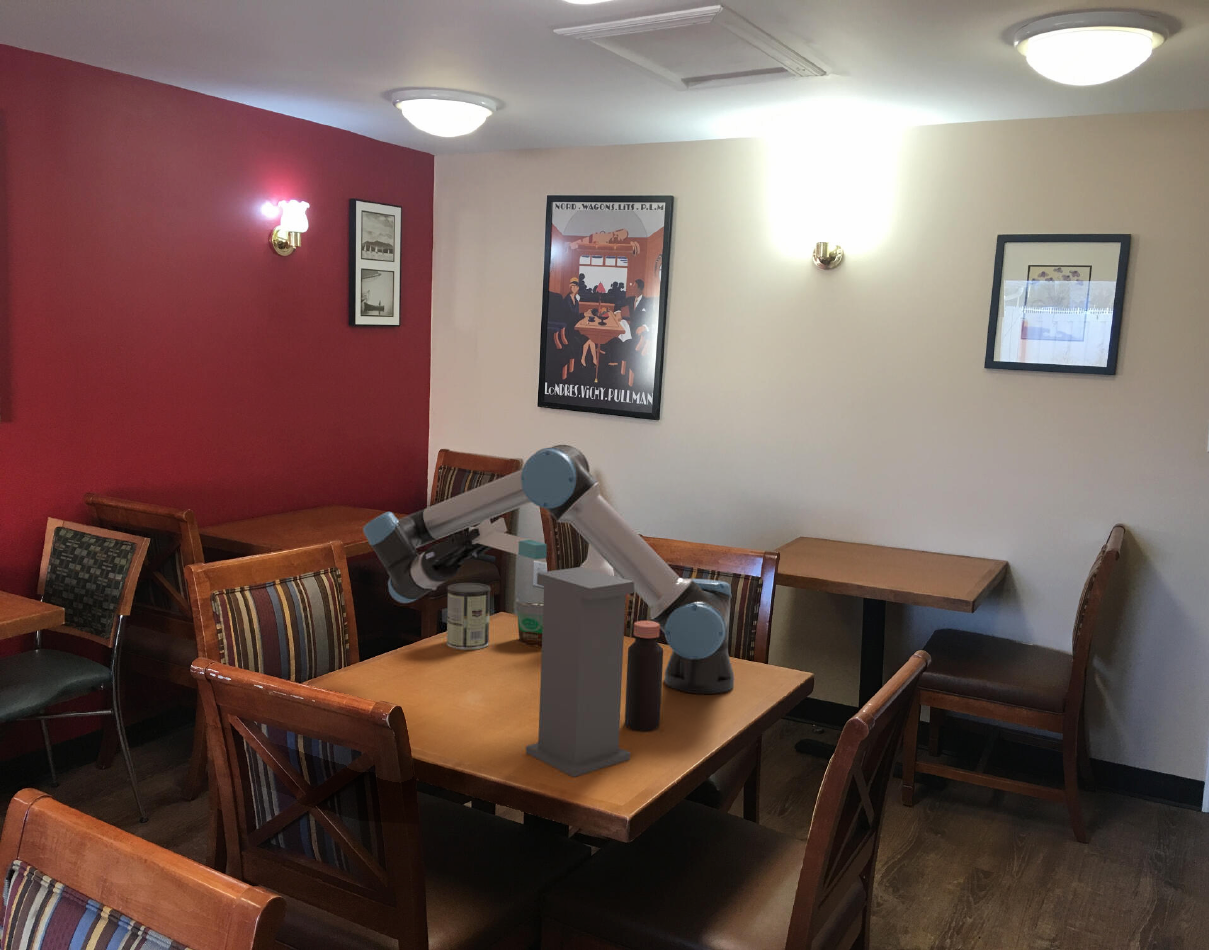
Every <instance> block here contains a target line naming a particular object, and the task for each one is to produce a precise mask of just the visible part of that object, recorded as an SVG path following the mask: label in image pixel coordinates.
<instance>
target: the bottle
mask: <svg viewBox="0 0 1209 950" xmlns="http://www.w3.org/2000/svg"><path fill="white" fill-rule="evenodd" d="M660 630H661V629H660V624H659V623H657V622H654V621H653V620H638V621H635V622H634V623H633V638H634V642H632V643H631V645H629V647H628V648H627V660H626V662H627V664H626V665H627V666H626V667H627V668H626V685H625V707H624V708H625V709H624V725H625V727H627V728H629V729H630V730H633V731H637V732H638V731H639V732H651V731H654V730H655V731H656V730H657V729H658V728H660V722H661V708H662V707H661V705H662V685H663V684H662V683H663V682H662V681H663V664H664V649H663V648H662V646H661V645H660V644H659V643H658V639H660Z"/></svg>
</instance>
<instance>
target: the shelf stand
mask: <svg viewBox="0 0 1209 950" xmlns="http://www.w3.org/2000/svg"><path fill="white" fill-rule="evenodd" d="M536 584H537V585H539V586H542V587H543V630H542V646H541V660H540V661H541V663H540V685H539V687H540V690H539V713H538V714H539V715H538V716H539V717H538V736H537V738H538V740H537V742H536V743H533V744H530V745H526V746H525V753H526V754H528V755H529V756H531V757H533V758H535V759H537V760H540V762H541V761H542V762H543V763H545V764H547V765H549V766H551V767H552V768H555V769H556V770H559V771H560V772H562V773H564V774H567V775H568V776H571V777H572V778H575V777H577V776H581V775H584V774H588V773H591V772H594V771H597V770H600V769H603V768H607V767H610V766H612V765H616V764H619V763H623V762H626V761H628V760H630V759H631V752H630V751H627V750H625V749H624V748H622V747H619V745H620V724H621V723H620V722H621V721H620V720H621V702H622V683H623V681H622V680H623V662H624V661H623V660H624V659H623V658H624V656H623V655H624V640H625V639H624V637H625V618H626V616H625V615H626V611H625V610H626V595H630V594H631V595H632V594H634V593H635V591H634V581H630V580H627V579H623V578H622V577H619V576H615V575H614V576H612V575H608V574H605V573H601V572H597V571H594V570H590V569H586V568H583V567H580V566H579V567H572V568H565V569H556V570H550V571H548V570H547V571H540V572H537V574H536Z"/></svg>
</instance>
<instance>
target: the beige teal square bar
mask: <svg viewBox="0 0 1209 950" xmlns="http://www.w3.org/2000/svg"><path fill="white" fill-rule="evenodd" d="M474 527H475V526H470V527H468V532H469V531H470V530H471V529H473V528H474ZM478 543H479V544H483V545H486V546H490V547H492V548H493V549H497V550H501V551H504V552H507V553H511V554H514V555H517V556H522V557H525V558H528V559H531V560H535V561H537V560H543V559H547V553H548V552H547V551H548V549H547V548H548V544H547V543H543V542H539V541H536V540H532V539H528V538H525V537H520V536H517V535H513V534H509V533H507V532H505V533H503V532H499V531H495V530H493V533H491V534H490V535H488V536H487V537H485V538H484V539H482V540H481V541H479V542H478Z"/></svg>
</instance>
